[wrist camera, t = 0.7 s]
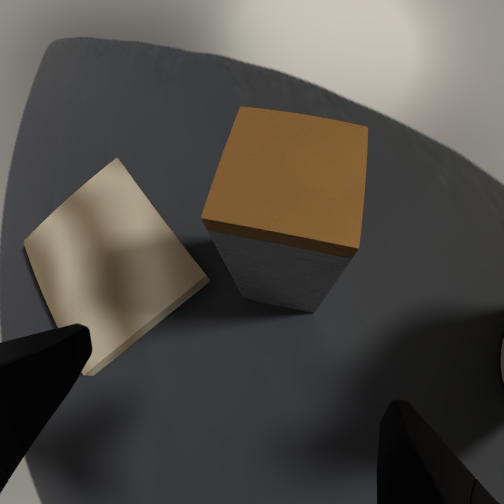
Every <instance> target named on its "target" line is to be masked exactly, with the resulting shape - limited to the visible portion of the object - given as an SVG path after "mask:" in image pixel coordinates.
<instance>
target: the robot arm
mask: <svg viewBox="0 0 504 504" xmlns="http://www.w3.org/2000/svg"><path fill="white" fill-rule="evenodd" d="M92 350H93V348H92V341H91V335H90V330H89V328H88V327H87V326H84V325H82V324H79V323H75V324H72V325H68V326H64V327H60V328H56V329H53V330H49V331H45V332H41V333H37V334H33V335H29V336H25V337H21V338H17V339H14V340H10V341H6V342H1V343H0V493H1V491H2V490H3V488H4V487H5V485H6V483H7V482H8V479H9V478H10V477H11V475H12V474H13V472H14V471H15V469H16V468H17V466H18V464H19V463H20V461H21V460H22V458H23V457H24V455H25V454H26V453H27V451H28V450H29V448H30V447H31V445H32V444H33V442H34V441H35V439H36V438H37V436H38V435H39V434H40V432H41V431H42V429H43V428H44V426H45V425H46V424H47V422H48V421H49V419H50V418H51V416H52V415H53V414H54V412H55V411H56V410H57V408H58V407H59V405H60V404H61V403H62V401H63V400H64V399H65V397H66V396H67V394H68V393H69V391H70V390H71V388H72V387H73V385H74V383H75V382H76V380H77V378H78V377H79V375H80V373H81V372H82V370H83V368H84V366H85V365H86V363H87V361H88V360H89V358H90V356H91V354H92ZM377 504H499V503H498V502H497V501H496V500H495V499H494V498H493V497H492V496H491V495H490V493H489V492H488V491H487V490H486V489H485V488H484V487H483V486H482V485H481V483H480V482H479V481H478V480H477V479H475V477H474V476H473V474H472V473H471V472H470V471H469V470H468V469H467V468H466V466H465V465H464V464H463V463H462V462H461V461H460V460H459V459H458V457H457V456H456V455H455V454H454V453H453V452H452V451H451V449H450V448H449V447H448V446H447V445H446V444H445V443H444V442H443V440H442V439H441V438H440V437H439V436H438V435H437V434H436V433H435V431H434V430H433V429H432V428H431V427H430V426H429V425H428V424H427V422H426V421H425V420H424V419H423V418H422V417H421V416H420V415H419V414H418V412H417V411H416V410H415V409H414V408H413V407H412V406H411V405H410V404H409V402H407V401H405V400H393V401H392V402H391V403H390V405H389V407H388V409H387V410H386V412H385V414H384V416H383V418H382V420H381V423H380V431H379V448H378V461H377Z"/></svg>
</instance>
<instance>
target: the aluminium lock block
mask: <svg viewBox="0 0 504 504" xmlns="http://www.w3.org/2000/svg"><path fill="white" fill-rule="evenodd" d="M367 144H368V127H365V126H361V125H356V124H352V123H347V122H342V121H337V120H332V119H326V118H321V117H315V116H309V115H303V114H297V113H290V112H283V111H276V110H268V109H259V108H250V107H240V109H239V111H238V114H237V117H236V119H235V122H234V125H233V127H232V130H231V133H230V135H229V138H228V141H227V144H226V146H225V149H224V152H223V155H222V157H221V160H220V163H219V166H218V169H217V172H216V175H215V177H214V180H213V183H212V186H211V189H210V192H209V195H208V198H207V201H206V204H205V207H204V210H203V213H202V216H201V219H202V221H203V223H204V225H205V227H206V229H207V231H208V233H209V235H210V236H211V238H212V240H213V242H214V244H215V246H216V248H217V250H218V252H219V254H220V255H221V257H222V259H223V261H224V263H225V265H226V267H227V269H228V271H229V272H230V274H231V276H232V278H233V280H234V282H235V284H236V285H237V287H238V289H239V291H240V293H241V295H242V297H243V298H244V299H248V300H253V301H257V302H262V303H267V304H271V305H276V306H281V307H285V308H290V309H295V310H300V311H305V312H310V313H314V312H315V311H316V310H317V308H318V307H319V306H320V304H321V303H322V301H323V300H324V299H325V297H326V296H327V294H328V293H329V291H330V290H331V289H332V287H333V286H334V284H335V283H336V281H337V280H338V279H339V277H340V276H341V274H342V273H343V271H344V270H345V268H346V267H347V265H348V264H349V262H350V261H351V259H352V258H353V256H354V255H355V253H356V252H357V250H358V249H359V242H360V233H361V224H362V215H363V204H364V192H365V179H366V164H367Z"/></svg>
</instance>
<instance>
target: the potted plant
mask: <svg viewBox="0 0 504 504" xmlns="http://www.w3.org/2000/svg"><path fill="white" fill-rule="evenodd" d="M501 373H502V379H503V382H504V338H503V343H502V349H501Z"/></svg>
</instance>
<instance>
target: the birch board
mask: <svg viewBox="0 0 504 504" xmlns="http://www.w3.org/2000/svg"><path fill="white" fill-rule="evenodd" d="M24 245H25V248H26V251H27V254H28V257H29V260H30V263H31V265H32V268H33V271H34V273H35V276H36V278H37V281H38V283H39V286H40V288H41V291H42V293H43V296H44V298H45V300H46V303H47V305H48V307H49V309H50V312H51V314H52V316H53V318H54V320H55V322H56V325H57V327H58V328H60V327H64V326H68V325H72V324H75V323H79V324H82V325H84V326H87V327H88V328H89V330H90V335H91V341H92V348H93V350H92V354H91V356H90V358H89V360H88V361H87V363H86V365H85V366H84V368H83V370H82V374H83V376H94V375H95V374H96V373H97V372H99V371H100V370H101V369H102V368H104V367H105V366H106V365H107V364H109V363H110V362H111V361H112V360H113V359H115V358H116V357H117V356H118V355H120V354H121V353H122V352H123V351H125V350H126V349H127V348H128V347H130V346H131V345H132V344H133V343H134V342H136V341H137V340H138V339H139V338H141V337H142V336H143V335H144V334H146V333H147V332H148V331H149V330H151V329H152V328H153V327H154V326H155V325H157V324H158V323H159V322H160V321H162V320H163V319H164V318H165V317H167V316H168V315H169V314H170V313H172V312H173V311H174V310H175V309H177V308H178V307H179V306H180V305H181V304H183V303H184V302H185V301H186V300H188V299H189V298H190V297H191V296H193V295H194V294H195V293H196V292H198V291H199V290H200V289H201V288H203V287H204V286H205V285H206V284H208V283H209V282H210V281H211V280H210V279H209V278H208V277H207V275H206V274H205V273H204V272H203V270H202V269H201V268H200V267H199V265H198V264H197V263H196V262H195V260H194V259H193V258H192V257H191V255H190V254H189V253H188V251H187V250H186V249H185V248H184V246H183V245H182V244H181V242H180V241H179V240H178V239H177V237H176V236H175V235H174V233H173V232H172V231H171V229H170V228H169V227H168V226H167V224H166V223H165V222H164V220H163V219H162V218H161V216H160V215H159V214H158V212H157V211H156V210H155V208H154V207H153V206H152V204H151V203H150V202H149V200H148V199H147V198H146V196H145V195H144V194H143V192H142V191H141V189H140V188H139V187H138V185H137V184H136V183H135V181H134V180H133V179H132V177H131V176H130V174H129V173H128V172H127V170H126V169H125V167H124V166H123V165H122V163H121V162H120V161H119V159H118V158H116V159H115V160H113V161H112V162H111V163H110V164H108V165H107V166H106V167H105V168H103V169H102V170H101V171H100V172H98V173H97V174H96V175H95V176H94V177H92V178H91V179H90V180H89V181H88V182H86V183H85V184H84V185H83V186H82V187H81V188H79V189H78V190H77V191H76V192H75V193H74V194H73V195H72V196H70V197H69V198H68V199H67V200H66V201H65V202H64V203H63V204H62V205H60V206H59V207H58V208H57V209H56V210H55V211H54V212H53V213H52V214H51V215H50V216H49V217H48V218H47V219H46V220H45V221H43V222H42V223H41V224H40V225H39V226H38V227H37V228H36V229H35V230H34V231H33V232H32V233H31V234H30V235H29V236H28V237H27V238H26V240H25V241H24Z"/></svg>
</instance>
